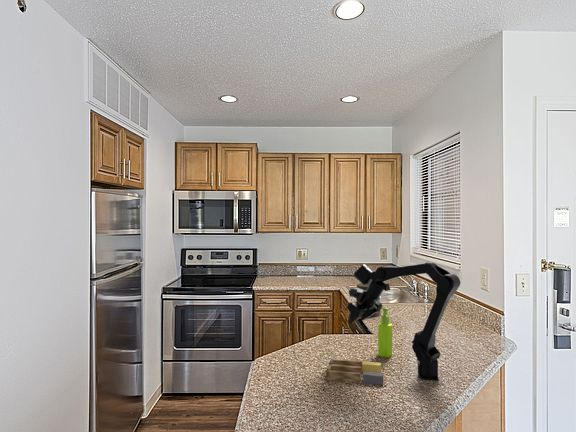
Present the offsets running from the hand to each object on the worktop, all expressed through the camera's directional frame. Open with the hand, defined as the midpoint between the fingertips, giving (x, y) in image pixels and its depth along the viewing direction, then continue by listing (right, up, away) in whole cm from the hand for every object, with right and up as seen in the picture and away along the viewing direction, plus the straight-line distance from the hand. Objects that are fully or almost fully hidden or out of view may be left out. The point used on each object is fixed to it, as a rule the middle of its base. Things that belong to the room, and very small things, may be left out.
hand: (355, 321), depth 173 cm
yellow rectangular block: (+3, -15, -16) cm, 22 cm away
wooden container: (+21, -17, +83) cm, 87 cm away
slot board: (-7, -15, -19) cm, 25 cm away
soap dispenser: (+13, -15, +4) cm, 20 cm away
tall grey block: (+2, -15, -27) cm, 31 cm away
